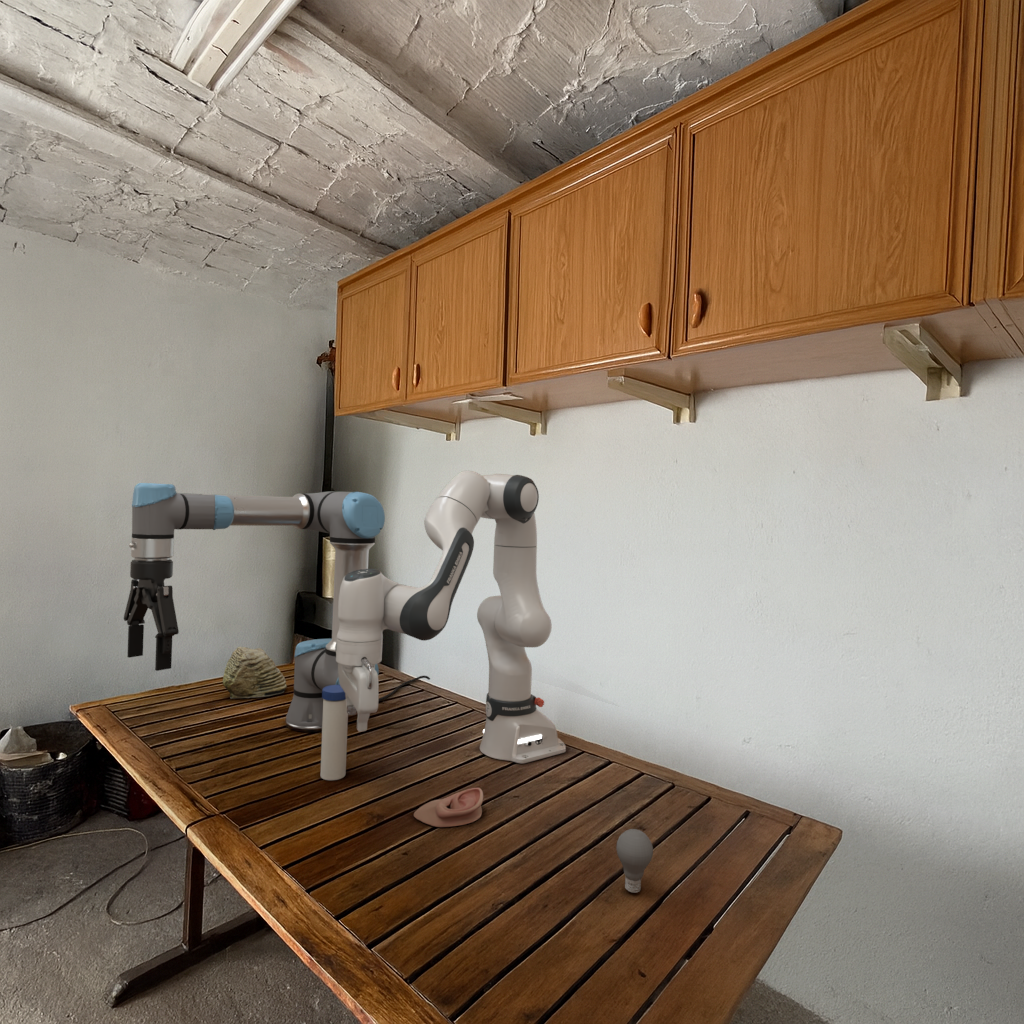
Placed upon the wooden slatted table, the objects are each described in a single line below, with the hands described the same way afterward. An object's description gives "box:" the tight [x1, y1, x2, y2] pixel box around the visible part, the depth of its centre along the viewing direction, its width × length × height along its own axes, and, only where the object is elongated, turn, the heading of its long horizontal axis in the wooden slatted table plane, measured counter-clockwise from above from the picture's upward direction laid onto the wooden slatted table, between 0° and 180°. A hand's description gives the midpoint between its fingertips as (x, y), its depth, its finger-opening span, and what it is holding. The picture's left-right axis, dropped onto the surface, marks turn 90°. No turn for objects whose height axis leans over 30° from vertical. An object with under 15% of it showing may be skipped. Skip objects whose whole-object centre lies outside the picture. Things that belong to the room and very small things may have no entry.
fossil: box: [222, 646, 288, 699], centre depth 198 cm, size 9×18×15 cm, turn 132°
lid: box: [322, 685, 346, 701], centre depth 144 cm, size 6×6×2 cm
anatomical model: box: [413, 787, 484, 828], centre depth 129 cm, size 13×4×12 cm
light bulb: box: [615, 828, 654, 894], centre depth 106 cm, size 6×6×10 cm
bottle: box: [320, 699, 349, 781], centre depth 144 cm, size 6×6×19 cm
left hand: (148, 662), depth 129 cm, fingers open, 13 cm apart
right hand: (356, 721), depth 125 cm, fingers open, 8 cm apart
